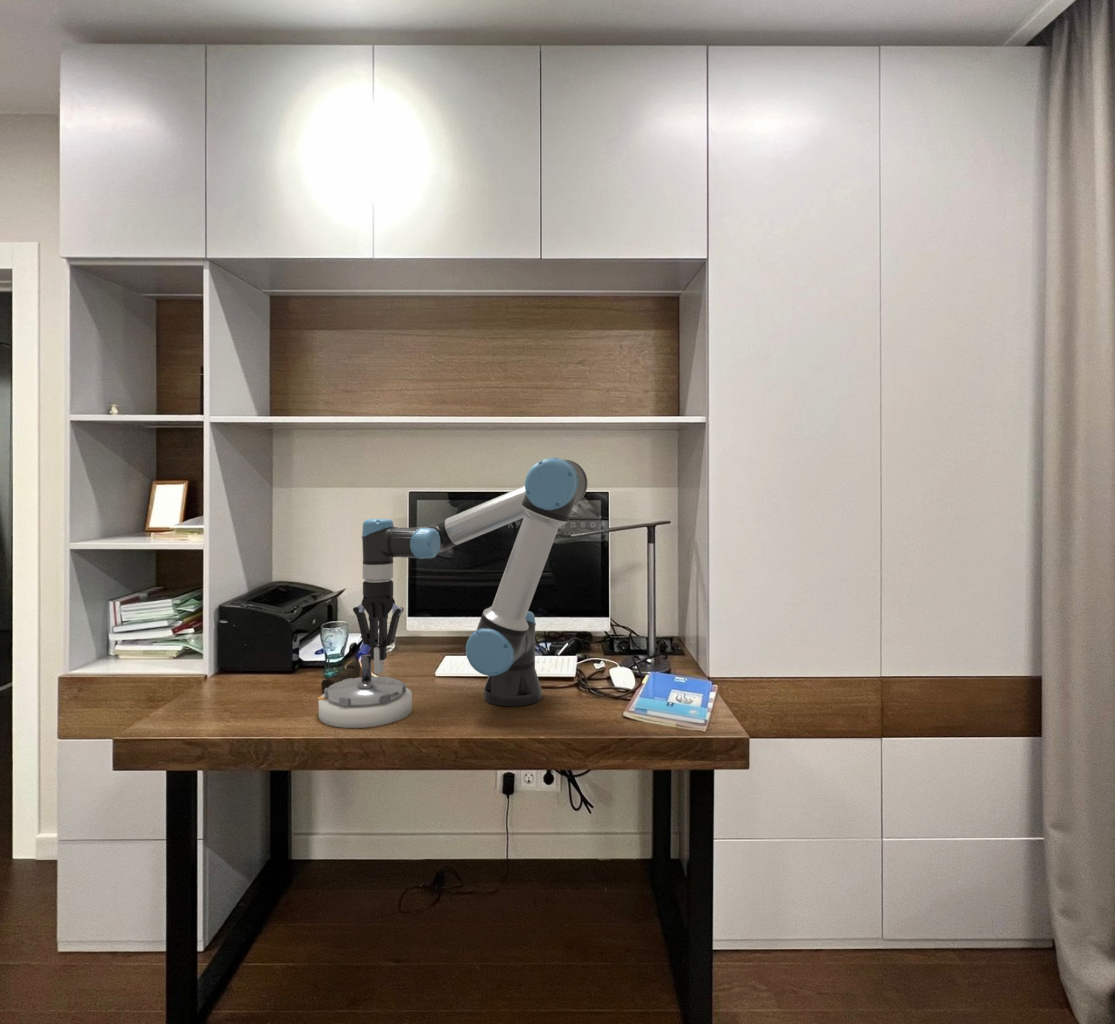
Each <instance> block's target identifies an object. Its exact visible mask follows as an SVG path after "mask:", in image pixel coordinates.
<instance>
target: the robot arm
mask: <svg viewBox="0 0 1115 1024" xmlns="http://www.w3.org/2000/svg"><path fill="white" fill-rule="evenodd" d="M587 476H588V475H587V473H586V472H585V470H584V468H583V467H582V466H581V465H580V464H578V463H577V462H575V461H572V460H568V459H562V458H558V457H548V458H545V459H542V460H540V461H538V462H537V463H535V464H533V466H531V468H530V469H529V470H528V472H527V474H526V477H525V480H524V485H522V486H520V487H518V488H515V489H513V490H511V491H509V492H506V493H504V494H501V495H500V496H497V497H495V498H492V499H490V500H488V501H485V502H483V503H480V504H477V505H475V506H474V507H471V508H468V509H466V510H464V511H461V512H459V513H457V514H455V515H452V516H450V517H447V518H445V519H443V520H441V521H438V522H435V523H433V524H429V525H425V526H416V527H397V526H394V521H393V520H392V519H389V518H369V519H365V520H364V521H363V522H362V534H361V535H362V536H361V539H362V579H363V582H362V600H361V603H360V604H358V605H357V606H355V607H353V608H352V611H353V613H354V615H355V616H356V619H357V623H358V627H359V630H360V637H361V638H362V644H364V645H365V646H366V645H367V646H369V647H370V655H371V661H372V660H373V673H374V674H376V675H377V674H378V675H380V674H381V673H383V672H384V661H385V660H386V659H387V656H388V655H387V654H388V653H387V650H388V649H387V647H388V646H390V645H392V644H394V643H395V638H396V633H397V632H398V631H397V630H398V626H399V622H400V618H401V615H402V614H403V612H404V611H405V609H404V607H402V606H401V607H400V606H398V605H397V604H396V601H395V599H394V581H393V580H392V579H393V578H394V558H406V559H407V558H408V559H409V558H411V559H419V560H423V559H433V558H436V557H437V555H438V554H440V553H441V554H442V553H444V552H446V551H449V550H450V549H451V548H454V547H456V546H458V545H460V544H462V543H465V542H468V541H470V540H472V539H474V538H477V537H480V536H481V535H485V534H487V533H490V532H492V531H494V530H496V529H497V530H498V529H499V528H501V527H504V526H506V525H510V524H512V523H514V522H516V521H519V520H521V519H522V522H521V524H520V527H519V529H518V532H517V535H516V538H515V540H514V543H513V547H512V549H511V552H510V555H509V557H508V560H507V563H506V566H505V569H504V572H503V574H502V577H501V579H500V582H499V585H498V587H497V591H496V594H495V597H494V599H493V602H492V605H490V606H489V607H487V608H485V609H484V610H483V612H482V614H481V617H480V620H479V622H478V624H477V627H476V630H475V631H473V632H472V634H470V636H469V637H468V639H467V641H466V645H465V655H466V658H467V660H468V662H469V664H470V666H471V667H472V669H474V671H476V672H477V673H479V674H481V675H484V676H487V679H486V683H485V685H484V689H483V700H484V701H485V702H487V703H489V704H492V705H494V706H502V707H521V706H522V707H523V706H529V705H532V704H535V703H537V702H539V701H541V700H542V695H543V694H542V686H541V684H540V679H539V676H538V673H537V670H536V626H537V624H536V616H535V614H534V613H533V612H532V611H530V610H529V609H530V606H531V604H532V601H533V598H534V595H535V593H536V591H537V587H538V585H539V582H540V579H541V577H542V574H543V571H544V569H545V566H546V564H547V563H546V562H547V560H548V558H549V554H550V552H551V549H552V547H553V545H554V541H555V538H556V535H557V534H558V530H559V528H560V527H562V526H563V525H565V524H567V523H568V521H569V520H570V517H571V514H572V511H573V509H574V508H573V507H574V506H575V505H576V504H578V503H579V502H580V501H581V500H582V499H583V498H584V496H585V495H586V493H587V490H588V484H589V483H588V477H587ZM365 612H366V613H367V614H368V619H367V616H366V613H365ZM390 613H392V615H391V617H390V618H391V619H390V623H389V627H388V619H389V614H390ZM368 621H369V623H368Z"/></svg>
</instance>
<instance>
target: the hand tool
mask: <svg viewBox="0 0 1115 1024" xmlns="http://www.w3.org/2000/svg"><path fill="white" fill-rule="evenodd" d="M360 675H361V663H360V661H359V660H354V661H352V662H351V663H348V664H347V665H346V668H345V669H343V670H341V671H340V672H338V673H336V674H334V675H332V676H330V677H328V678H325V679H322V681H321V683H320V684H321V685H320V687H321V691H322V693H324V690H325V688H328V687H329V686H331V685H333V684H335V683H337V682H340V681H343V680H344V679H349V678H359V676H360Z"/></svg>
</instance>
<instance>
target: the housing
mask: <svg viewBox="0 0 1115 1024" xmlns="http://www.w3.org/2000/svg"><path fill="white" fill-rule="evenodd" d="M412 695H413V693H412V691H411V689H409V688H408V687H406V693H403V695H402V696H401V697H400V698H398V699H396V700H394V701H391V702H388V703H384V704H380V705H373V706H362V707H349V706H340V705H336V704H333V703H331V702H329V701H328V699H327V698H324V693H323V694H322V695H320V696H318V697H317V700H318V719H319V721H320V722H322V723H323V724H325V725H329V726H332V727H336V728H344V729H346V728H347V729H361V728H362V729H363V728H372V727H379V726H384V725H388V724H393V723H396V722H398V721H401V720H403V719H405V718H407V717H408V716H409V715H410V714H411V713H412V710H413V697H412ZM395 721H396V722H395ZM392 722H393V723H392Z"/></svg>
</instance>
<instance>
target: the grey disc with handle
mask: <svg viewBox="0 0 1115 1024" xmlns="http://www.w3.org/2000/svg"><path fill="white" fill-rule="evenodd" d="M360 665H361V677H358V678H349V679H344V680H343V681H340V682H337V683H335V684H333V685H331V686H329V687H328V688H325V690H324V692H323V694H324V698H327V699H328V701H329V702H331V703H333V704H336V705H340V706H349V707H362V706H373V705H380V704H384V703H388V702H391V701H394V700H396V699H398V698H400V697H401V696H402V695H403V693H406V688H407V683H406V682H403V681H401V680H399V679H397V678H393V677H390V676H385V675H383V676H382V675H381V676H372V659H371V654H362V655H361V663H360Z"/></svg>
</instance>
